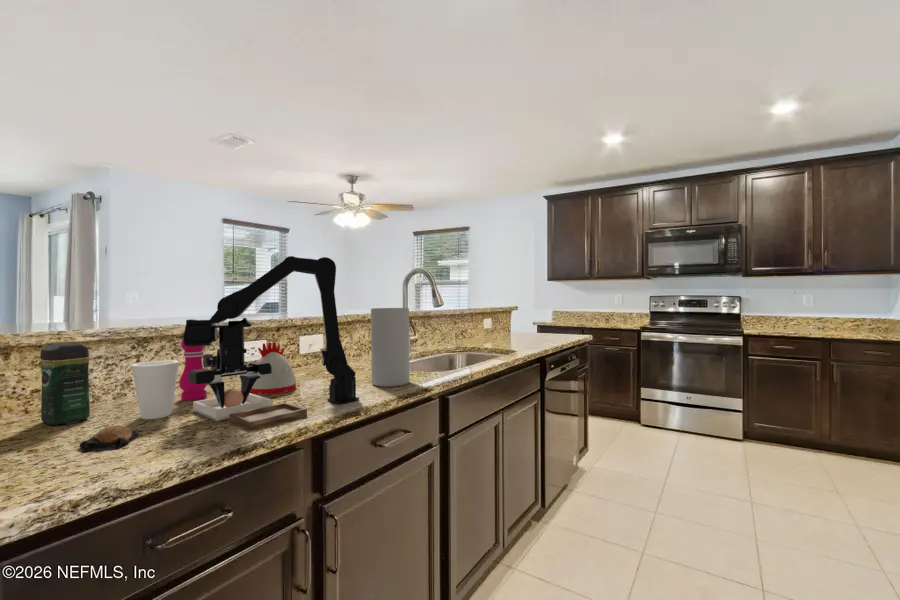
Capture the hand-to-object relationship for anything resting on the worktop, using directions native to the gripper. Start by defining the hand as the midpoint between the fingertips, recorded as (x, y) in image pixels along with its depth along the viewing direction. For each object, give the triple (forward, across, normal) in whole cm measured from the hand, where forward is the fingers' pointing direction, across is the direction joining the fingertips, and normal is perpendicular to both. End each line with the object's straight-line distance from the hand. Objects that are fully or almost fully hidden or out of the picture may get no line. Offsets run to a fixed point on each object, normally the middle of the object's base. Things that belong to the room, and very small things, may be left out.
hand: (232, 405), depth 110 cm
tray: (+1, -2, +15) cm, 15 cm away
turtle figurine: (+2, +26, +6) cm, 27 cm away
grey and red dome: (+2, -19, -16) cm, 25 cm away
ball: (+1, 0, 0) cm, 1 cm away
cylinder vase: (+2, -48, +7) cm, 49 cm away
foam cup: (+1, +14, -10) cm, 17 cm away
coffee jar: (+1, +29, -22) cm, 36 cm away
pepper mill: (+1, +1, -23) cm, 23 cm away
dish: (+1, 0, 0) cm, 1 cm away
